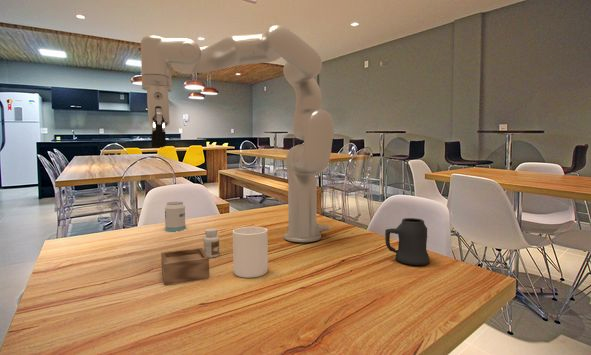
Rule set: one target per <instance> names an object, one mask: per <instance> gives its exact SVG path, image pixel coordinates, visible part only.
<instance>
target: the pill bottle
mask: <svg viewBox="0 0 591 355" xmlns="http://www.w3.org/2000/svg"><path fill="white" fill-rule="evenodd" d="M204 234H205V237H203V250H204V252H205V253H206V255H207V256H208V258H209V259H210V258H211V259H212V258H216V257H217V258H218V257H219V256H220V237H219V236H218V229H217V228H212V227H211V228H206V229H205V230H204Z"/></svg>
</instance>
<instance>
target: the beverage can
mask: <svg viewBox="0 0 591 355" xmlns="http://www.w3.org/2000/svg"><path fill="white" fill-rule="evenodd" d="M164 222H165V224H164V225H165V228H164V229H165V231H166V232H168V233H176V231H178V232H182V231H185V230H186V207H185V204H184V203H183V201H170V202H166V205H165V207H164ZM184 229H185V230H184ZM181 230H182V231H181Z"/></svg>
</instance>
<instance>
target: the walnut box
mask: <svg viewBox="0 0 591 355" xmlns="http://www.w3.org/2000/svg"><path fill="white" fill-rule="evenodd" d="M160 254H161V255H160V258H161V275H162V279H163V284H164V286H168V285H169V286H171V285H176V284H181V283H187V282H188V283H189V282H195V281H201V280H208V279H210V258H208V256H207V255H206V253H205V252H204V248H203V247H198V248H197V247H196V248H189V249H179V250H178V249H177V250H173V251H172V250H171V251H170V250H169V251H162V252H161V253H160Z"/></svg>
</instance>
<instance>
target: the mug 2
mask: <svg viewBox="0 0 591 355" xmlns="http://www.w3.org/2000/svg"><path fill="white" fill-rule="evenodd" d="M384 233H385V234H384V235H385V236H384V237H385V239H384V240H385V246H386V248H387V249H388V251H390V252H393V253H394V254H395V260H396V261H398V262H399V263H402V264H405V265H410V266H411V265H413V266H421V265H427V264H429V263H430V256H429V252H428V251H427V241H428V227H427V226H426V224H425V221H424V220H423V219H422V218H414V217H413V218H412V217H406V218H402V220H401V222H400V223H399V225H398V226H397V227H396V228H386V229H385V232H384ZM391 234H395V235H398V243H397V244H398V248H397V249H396V248H394V247H392V246H391V244H390V242H391V240H390V238H391Z"/></svg>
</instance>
